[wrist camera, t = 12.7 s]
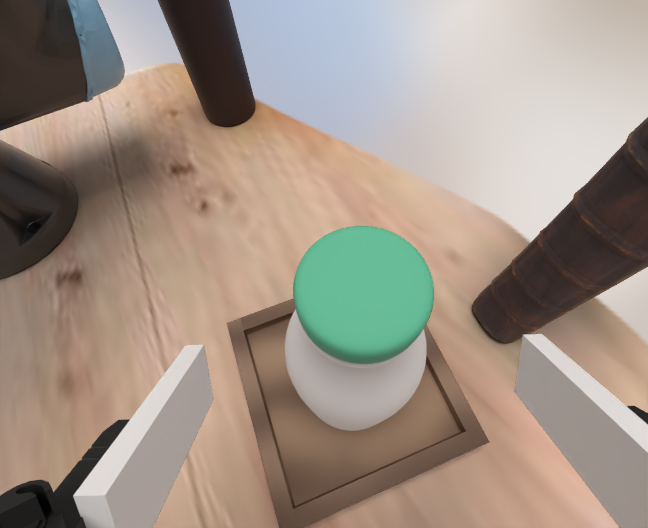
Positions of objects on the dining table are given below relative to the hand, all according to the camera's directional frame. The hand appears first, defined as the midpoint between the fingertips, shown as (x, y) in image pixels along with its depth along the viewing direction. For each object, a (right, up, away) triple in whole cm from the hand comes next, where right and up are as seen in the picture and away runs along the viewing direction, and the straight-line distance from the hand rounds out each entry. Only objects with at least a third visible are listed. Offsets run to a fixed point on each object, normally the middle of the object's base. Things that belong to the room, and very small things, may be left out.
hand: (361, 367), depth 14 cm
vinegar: (-14, +25, +32) cm, 43 cm away
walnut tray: (0, -6, +15) cm, 16 cm away
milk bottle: (+1, -5, +14) cm, 16 cm away
